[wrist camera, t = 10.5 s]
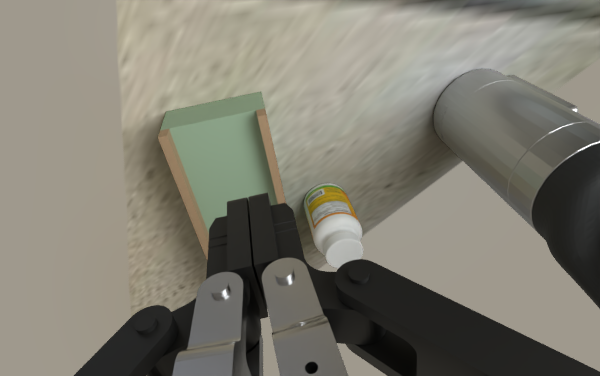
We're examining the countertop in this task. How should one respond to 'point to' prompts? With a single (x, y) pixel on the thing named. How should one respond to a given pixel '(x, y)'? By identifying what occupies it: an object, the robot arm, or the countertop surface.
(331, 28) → the countertop surface
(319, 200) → the supplement bottle
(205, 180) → the runway
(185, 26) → the countertop surface
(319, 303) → the robot arm
